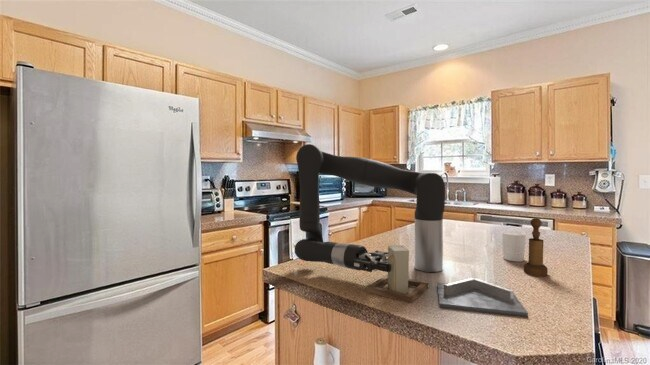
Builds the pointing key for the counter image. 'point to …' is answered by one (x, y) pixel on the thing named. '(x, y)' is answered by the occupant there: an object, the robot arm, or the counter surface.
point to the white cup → (513, 245)
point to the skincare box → (398, 268)
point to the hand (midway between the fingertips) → (397, 264)
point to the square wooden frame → (408, 297)
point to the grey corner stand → (479, 297)
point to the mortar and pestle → (535, 252)
